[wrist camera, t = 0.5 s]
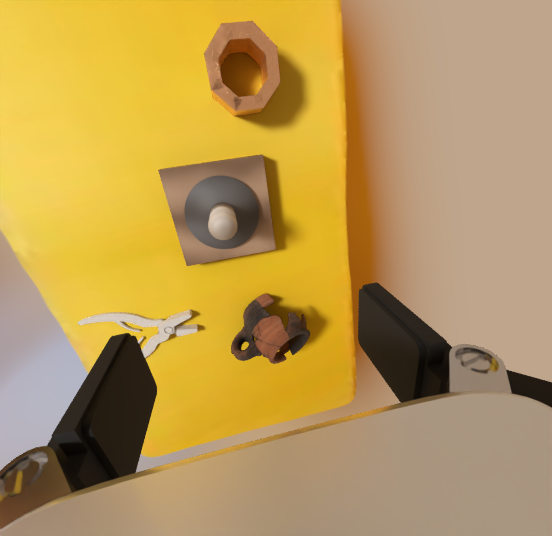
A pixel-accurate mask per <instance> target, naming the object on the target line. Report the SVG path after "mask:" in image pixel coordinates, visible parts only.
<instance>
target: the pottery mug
mask: <svg viewBox="0 0 552 536" xmlns="http://www.w3.org/2000/svg"><path fill="white" fill-rule="evenodd" d="M272 303H274V300H273V299H272V298H271V297H270V296H269V295H268V294H263V295H261V296H259V297H258V298H256V299H255V300H254V301H252V302H251V303H250V304H249V305H248V307H247V308H246V309H245V311H244V315H243V318H244V327H243V329H242V330H241V331H240V332H239V333H238V334H237V335H236V337H235V338H234V340H233V342H232V345H231V353H232V354H234V356H235V357H236V358H237V359H238V360H242V361H245V360H249V359H251V358H253V357H255V356H261V355H262V354H263V356H264V357H266V358H268V359H269V361H270V362H271V363H273V364H276V363H280V362H282V361H285V360H286V357H285V355H284V354H285V353H287V352H288V351H289V350H290V351H291V353H292V355H294V354H295V353H297V352H298V351H299V350H300V349H301V348H302V347H303V346H304V345H305V343H306V342H307V340H308V339H309V336H310V331H309V330H307V328H306V320H305V317H304V314H302V315H301V317H302V320H300V318H299V317H297V316H296V314H295V313H291V312H290V313H288V317H289V320H288V325H287V327H286V329H285V328H284V325H283V323H282V321H281V318H280V317H278V316H276V315H272V316H271V315H270V314H269V313H268V312H267V311H266V310H265V309H264V308H266V307H267V306H269V305H270V304H272ZM253 336H254V337H256V338H257V339H256V340H255V341H254V337H253ZM245 341H246V342H248V343H249V346H248V348H247V349H245V350H241V347H242V344H243V343H244V342H245ZM278 350H280V351H279V352H277V351H278Z"/></svg>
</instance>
